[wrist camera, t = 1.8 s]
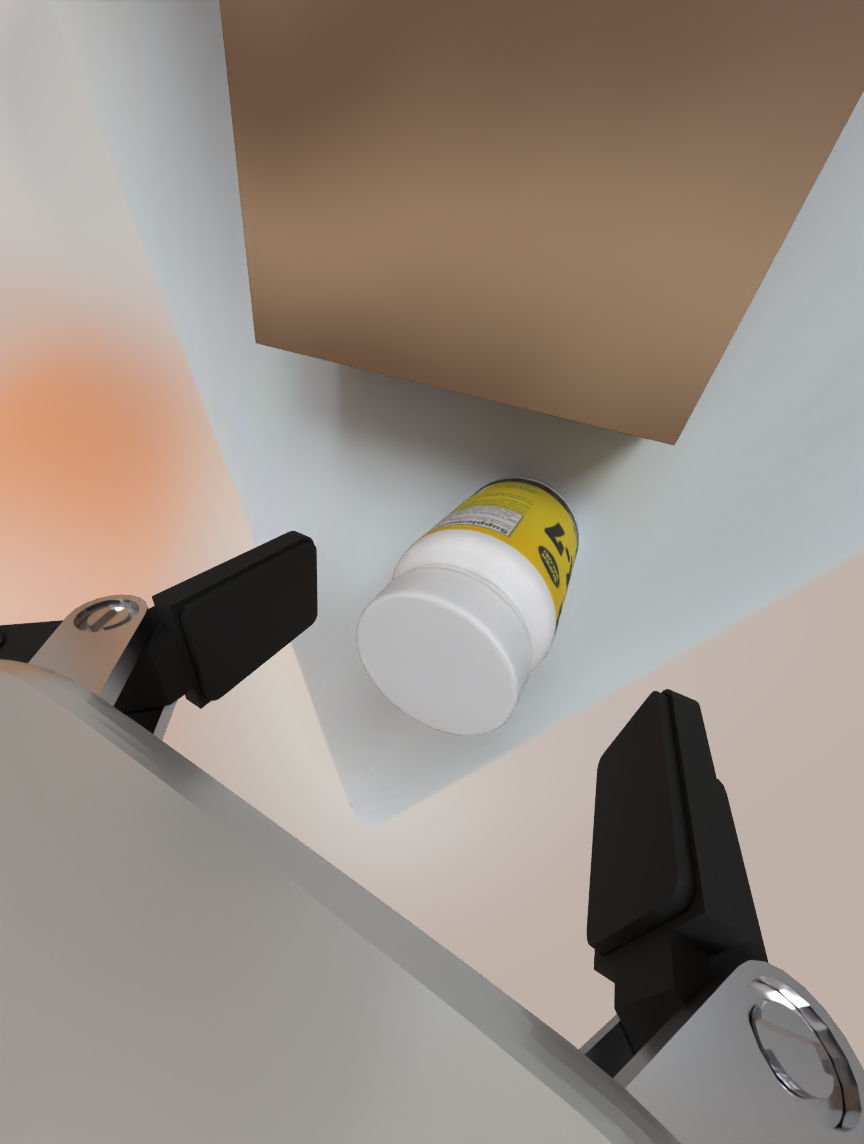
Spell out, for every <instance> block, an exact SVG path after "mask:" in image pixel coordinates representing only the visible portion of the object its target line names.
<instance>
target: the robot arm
mask: <svg viewBox="0 0 864 1144" xmlns="http://www.w3.org/2000/svg"><path fill="white" fill-rule="evenodd" d="M152 599H153V602H154V604H155V606H154V607H152V608H150V609H148V607H147V604H146V602H145V601H144V600H143V599H141V598H139V597H136V596H132V595H114V596H107V597H103V598H99V599H96V600H93V601H90V602H87V603H85V604H84V605H82V606H80V607H78V608H76V609H75V610H74V611H73V612H71V613H70V614H69V615H68V616H67V617H66V618H65V619H64V620H63V621H50V622H39V623H25V624H13V625H1V626H0V1144H864V1070H863V1068H862V1066H861V1064H860V1062H859V1060H858V1059H857V1057H856V1055H855V1053H854V1052H853V1050H852V1048H851V1046H850V1044H849V1043H848V1041H847V1039H846V1037H845V1036H844V1034H843V1033H842V1032H841V1030H840V1029H839V1028H838V1026H837V1025H836V1024H835V1022H834V1021H833V1019H832V1018H831V1017H830V1015H829V1014H828V1013H827V1011H826V1010H825V1009H824V1008H823V1007H822V1006H821V1004H819V1003H818V1001H817V1000H816V999H815V998H814V997H813V996H812V995H811V994H810V993H809V992H808V991H807V990H806V988H805V987H804V986H802V985H801V984H800V983H798V982H797V981H796V980H795V979H793V978H792V977H791V976H789V975H788V974H787V973H786V972H784V971H783V970H781V969H779V968H777V967H775V966H773V965H771V964H769V963H768V959H767V955H766V951H765V947H764V943H763V939H762V935H761V931H760V927H759V923H758V919H757V914H756V910H755V906H754V902H753V898H752V895H751V890H750V886H749V883H748V878H747V874H746V870H745V866H744V862H743V858H742V854H741V850H740V846H739V842H738V838H737V833H736V829H735V825H734V821H733V817H732V813H731V809H730V805H729V801H728V797H727V793H726V791H725V788H724V785H723V784H722V783H721V782H720V781H719V779H716V774H715V770H714V765H713V761H712V757H711V752H710V748H709V744H708V739H707V735H706V731H705V726H704V722H703V718H702V714H701V709H700V706H699V703H698V702H697V701H695V700H693V699H690V698H688V697H686V696H683V695H681V694H679V693H676V692H674V691H672V690H669V689H666V690H664V691H663V692H662V693H660V692H657V691H654V692H652V693H651V694H650V695H649V697H648V698H647V699H646V700H645V702H644V703H643V704H642V705H641V707H640V708H639V709H638V711H637V712H636V713H635V714H634V716H633V717H632V718H631V719H630V721H629V722H628V723H627V724H626V726H625V727H624V728H623V730H622V731H621V732H620V733H619V735H618V736H617V737H616V738H615V740H614V741H613V742H612V744H611V745H610V746H609V747H608V749H607V750H606V751H605V752H604V754H603V755H602V757H601V759H600V761H599V764H598V769H597V783H596V797H595V814H594V828H593V844H592V858H591V859H592V860H591V875H590V888H589V889H590V890H589V905H588V919H587V940H588V944H589V945H590V946H591V947H593V948H594V949H595V956H594V970H596V971H597V972H599V973H600V974H602V975H603V976H605V977H606V978H608V979H609V980H611V981H612V982H614V983H615V1006H614V1008H615V1011H616V1013H617V1014H616V1015H615V1016H614V1017H613V1018H612V1019H611V1020H610V1021H609V1022H608V1023H607V1024H606V1025H605V1026H604V1027H603V1028H602V1029H600V1030H599V1031H598V1032H597V1033H596V1034H595V1035H594V1036H593V1037H592V1038H591V1039H590V1040H589V1041H587V1042H586V1043H585V1044H584V1045H583V1046H582V1047H581V1048H580V1049H579V1050H578V1049H577V1048H576V1047H575V1046H573V1045H572V1044H571V1043H570V1042H568V1041H567V1040H566V1039H564V1038H563V1037H562V1036H561V1035H559V1034H558V1033H557V1032H555V1031H554V1030H553V1029H552V1028H550V1027H549V1026H548V1025H546V1024H545V1023H544V1022H542V1021H541V1020H539V1019H538V1018H537V1017H536V1016H534V1015H533V1014H532V1013H531V1012H529V1011H528V1010H527V1009H525V1008H524V1007H523V1006H521V1005H520V1004H519V1003H518V1002H516V1001H515V1000H514V999H512V998H511V997H510V996H508V995H507V994H506V993H504V992H503V991H502V990H500V989H499V988H498V987H497V986H495V985H494V984H492V983H491V982H490V981H489V980H487V979H486V978H485V977H483V976H482V975H481V974H479V973H478V972H477V971H475V970H474V969H473V968H472V967H470V966H469V965H468V964H466V963H465V962H464V961H462V960H461V959H459V958H458V957H457V956H456V955H454V954H453V953H451V952H450V951H449V950H447V949H446V948H445V947H443V946H442V945H441V944H439V943H438V942H437V941H435V940H434V939H433V938H431V937H430V936H428V935H427V934H426V933H424V932H423V931H422V930H420V929H419V928H418V927H416V926H415V925H413V924H412V923H411V922H409V921H408V920H407V919H405V918H404V917H403V916H401V915H400V914H399V913H397V912H396V911H394V910H393V909H392V908H390V907H389V906H388V905H386V904H385V903H384V902H382V901H381V900H380V899H378V898H377V897H376V896H374V895H373V894H371V893H370V892H369V891H367V890H366V889H365V888H363V887H362V886H361V885H359V884H358V883H357V882H355V881H354V880H352V879H351V878H350V877H348V876H347V875H346V874H344V873H343V872H342V871H340V870H339V869H337V868H336V867H335V866H333V865H332V864H331V863H329V862H328V861H327V860H325V859H324V858H322V857H321V856H320V855H318V854H317V853H316V852H314V851H313V850H311V849H310V848H309V847H307V846H306V845H305V844H303V843H302V842H301V841H299V840H298V839H296V838H295V837H294V836H292V835H291V834H290V833H288V832H287V831H285V830H284V829H283V828H281V827H280V826H279V825H277V824H276V823H275V822H273V821H272V820H270V819H269V818H268V817H266V816H265V815H264V814H262V813H261V812H259V811H258V810H257V809H255V808H254V807H253V806H251V805H250V804H248V803H247V802H245V801H244V800H243V799H242V798H240V797H239V796H238V795H236V794H235V793H233V792H232V791H231V790H229V789H228V788H227V787H225V786H224V785H222V784H221V783H220V782H218V781H217V780H216V779H214V778H213V777H211V776H210V775H209V774H207V773H206V772H204V771H203V770H202V769H200V768H199V767H198V766H196V765H195V764H193V763H192V762H191V761H189V760H188V759H186V758H185V757H184V756H182V755H181V754H180V753H178V752H177V751H175V750H174V749H173V748H171V747H170V746H168V745H167V744H166V743H164V742H163V741H162V740H163V737H164V735H165V732H166V729H167V726H168V724H169V721H170V718H171V716H172V713H173V710H174V708H175V705H176V702H177V700H178V699H179V698H180V697H182V696H183V695H185V696H186V699H187V700H189V701H190V702H192V703H193V704H195V705H196V706H198V707H199V708H203V707H204V706H205V705H206V704H208V703H209V702H210V701H212V700H213V701H214V700H217V699H219V698H221V697H222V696H224V695H225V694H226V693H227V692H229V691H230V690H231V689H232V688H234V687H235V686H236V685H237V684H238V683H240V682H241V681H242V680H243V679H245V678H246V677H247V676H248V675H250V674H251V673H252V672H253V671H255V670H256V669H257V668H258V667H260V666H261V665H262V664H263V663H265V662H266V661H267V660H268V659H270V658H271V657H272V656H273V655H275V654H276V653H277V652H278V651H280V650H281V649H282V648H283V647H285V646H286V645H287V644H288V643H290V642H291V641H292V640H293V639H295V638H296V637H297V636H298V635H300V634H301V633H302V632H303V631H305V630H306V629H307V628H308V627H310V626H311V625H312V624H313V623H314V621H315V620H316V617H317V552H316V546H315V545H314V543H313V540H312V539H311V538H310V537H308V536H305V535H303V534H301V533H298V532H296V531H291V532H288V533H286V534H284V535H281V536H279V537H277V538H275V539H273V540H271V541H269V542H267V543H264V544H262V545H260V546H258V547H256V548H254V549H252V550H250V551H247V552H245V553H243V554H241V555H239V556H237V557H235V558H233V559H230V560H228V561H227V562H224V563H222V564H220V565H218V566H215V567H213V568H211V569H209V570H207V571H205V572H203V573H201V574H198V575H196V576H194V577H192V578H190V579H188V580H186V581H184V582H181V583H179V584H177V585H175V586H173V587H171V588H169V589H167V590H164V591H162V592H160V593H158V594H156V595H154V596H152Z"/></svg>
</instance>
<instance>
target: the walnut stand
mask: <svg viewBox="0 0 864 1144" xmlns="http://www.w3.org/2000/svg"><path fill="white" fill-rule="evenodd" d="M220 9H221V19H222V28H223V38H224V47H225V57H226V66H227V75H228V85H229V94H230V104H231V113H232V123H233V132H234V142H235V151H236V161H237V170H238V180H239V189H240V198H241V208H242V217H243V227H244V236H245V246H246V255H247V265H248V274H249V284H250V293H251V302H252V312H253V321H254V331H255V340H256V343H258V344H262V345H266V346H270V347H274V348H278V349H282V350H286V351H290V352H294V353H298V354H303V355H307V356H311V357H315V358H319V359H323V360H327V361H331V362H335V363H339V364H344V365H348V366H352V367H356V368H360V369H364V370H368V371H372V372H376V373H380V374H384V375H389V376H393V377H397V378H401V379H405V380H409V381H413V382H417V383H421V384H425V385H429V386H434V387H438V388H442V389H446V390H450V391H454V392H458V393H462V394H466V395H470V396H475V397H479V398H483V399H487V400H491V401H495V402H499V403H503V404H507V405H511V406H515V407H520V408H524V409H528V410H532V411H536V412H540V413H544V414H548V415H552V416H556V417H560V418H565V419H569V420H573V421H577V422H581V423H585V424H589V425H593V426H597V427H601V428H606V429H610V430H614V431H618V432H622V433H626V434H630V435H634V436H638V437H642V438H646V439H651V440H655V441H659V442H663V443H667V444H671V445H675V443H676V442H677V440H678V438H679V436H680V434H681V432H682V430H683V428H684V427H685V425H686V423H687V421H688V419H689V417H690V415H691V413H692V412H693V410H694V408H695V406H696V404H697V402H698V400H699V398H700V397H701V395H702V393H703V391H704V389H705V387H706V385H707V383H708V382H709V380H710V378H711V376H712V374H713V372H714V370H715V368H716V367H717V365H718V363H719V361H720V359H721V357H722V355H723V353H724V352H725V350H726V348H727V346H728V344H729V342H730V340H731V338H732V337H733V335H734V333H735V331H736V329H737V327H738V325H739V323H740V322H741V320H742V318H743V316H744V314H745V312H746V310H747V308H748V307H749V305H750V303H751V301H752V299H753V297H754V295H755V293H756V292H757V290H758V288H759V286H760V284H761V282H762V280H763V278H764V277H765V275H766V273H767V271H768V269H769V267H770V265H771V263H772V262H773V260H774V258H775V256H776V254H777V252H778V250H779V248H780V247H781V245H782V243H783V241H784V239H785V237H786V235H787V233H788V232H789V230H790V228H791V226H792V224H793V222H794V220H795V218H796V216H797V215H798V213H799V211H800V209H801V207H802V205H803V203H804V201H805V200H806V198H807V196H808V194H809V192H810V190H811V188H812V186H813V185H814V183H815V181H816V179H817V177H818V175H819V173H820V171H821V170H822V168H823V166H824V164H825V162H826V160H827V158H828V156H829V155H830V153H831V151H832V149H833V147H834V145H835V143H836V141H837V140H838V138H839V136H840V134H841V132H842V130H843V128H844V126H845V125H846V123H847V121H848V119H849V117H850V115H851V113H852V111H853V110H854V108H855V106H856V104H857V102H858V100H859V98H860V96H861V95H862V93H863V91H864V0H220Z"/></svg>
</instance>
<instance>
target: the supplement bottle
mask: <svg viewBox="0 0 864 1144" xmlns="http://www.w3.org/2000/svg"><path fill="white" fill-rule="evenodd" d="M578 544H579V530H578V524H577V521H576V517H575V515H574V513H573V510H572V508H571V507H570V505H569V504H568V502H567V501H566V500H565V498H564V497H563V496H562V495H561V494H560V493H559V492H557V491H556V490H555V489H553V488H552V487H550V486H549V485H547V484H545V483H543V482H540V481H538V480H535V479H531V478H525V477H508V478H503V479H499V480H496V481H494V482H491V483H489V484H487V485H485V486H484V487H482V488H481V489H480V490H478V491H477V492H476V493H475V494H473V495H472V496H471V497H470V498H469V499H467V500H466V501H465V502H464V503H462V504H461V505H460V506H459V507H458V508H456V509H455V510H454V511H453V512H452V513H450V514H449V515H448V516H447V517H446V518H444V519H443V520H442V521H441V522H439V523H438V524H437V525H436V526H435V527H433V528H432V529H431V530H430V531H429V532H427V533H426V534H425V535H424V536H422V537H421V538H420V539H419V540H417V541H416V542H415V543H414V544H413V545H412V546H411V547H410V548H409V549H408V550H407V551H406V552H405V554H404V555H403V556H402V558H401V559H400V561H399V563H398V565H397V566H396V569H395V571H394V574H393V577H392V581H391V582H390V583H389V584H388V585H387V587H386V588H385V589H384V590H383V591H382V592H381V593H380V594H379V595H378V596H377V597H376V598H375V599H374V600H373V601H372V602H371V603H370V604H369V605H368V606H367V607H366V608H365V610H364V612H363V613H362V615H361V617H360V620H359V623H358V626H357V647H358V651H359V655H360V658H361V661H362V663H363V666H364V668H365V670H366V671H367V673H368V675H369V677H370V678H371V680H372V681H373V682H374V684H375V685H376V686H377V688H378V689H379V690H380V691H381V693H382V694H383V695H384V696H385V697H386V698H387V699H388V700H389V701H391V702H392V703H393V704H394V705H395V706H396V707H397V708H398V709H400V710H401V711H402V712H404V713H405V714H407V715H408V716H410V717H412V718H413V719H415V720H417V721H418V722H420V723H422V724H424V725H426V726H428V727H431V728H434V729H436V730H439V731H443V732H446V733H450V734H455V735H467V736H474V735H480V734H485V733H487V732H490V731H493V730H495V729H497V728H498V727H500V726H501V725H502V724H504V723H505V722H506V721H507V720H508V718H509V717H510V716H511V714H512V713H513V711H514V709H515V707H516V705H517V702H518V699H519V697H520V694H521V692H522V689H523V687H524V685H525V683H526V681H527V679H528V677H529V674H530V672H531V671H532V670H534V669H535V668H536V667H537V666H538V665H539V664H540V663H541V662H542V660H543V659H544V658H545V656H546V655H547V653H548V651H549V649H550V647H551V644H552V642H553V640H554V637H555V633H556V629H557V626H558V621H559V617H560V614H561V610H562V607H563V603H564V599H565V595H566V592H567V588H568V584H569V580H570V577H571V573H572V569H573V565H574V562H575V558H576V555H577V551H578Z"/></svg>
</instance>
